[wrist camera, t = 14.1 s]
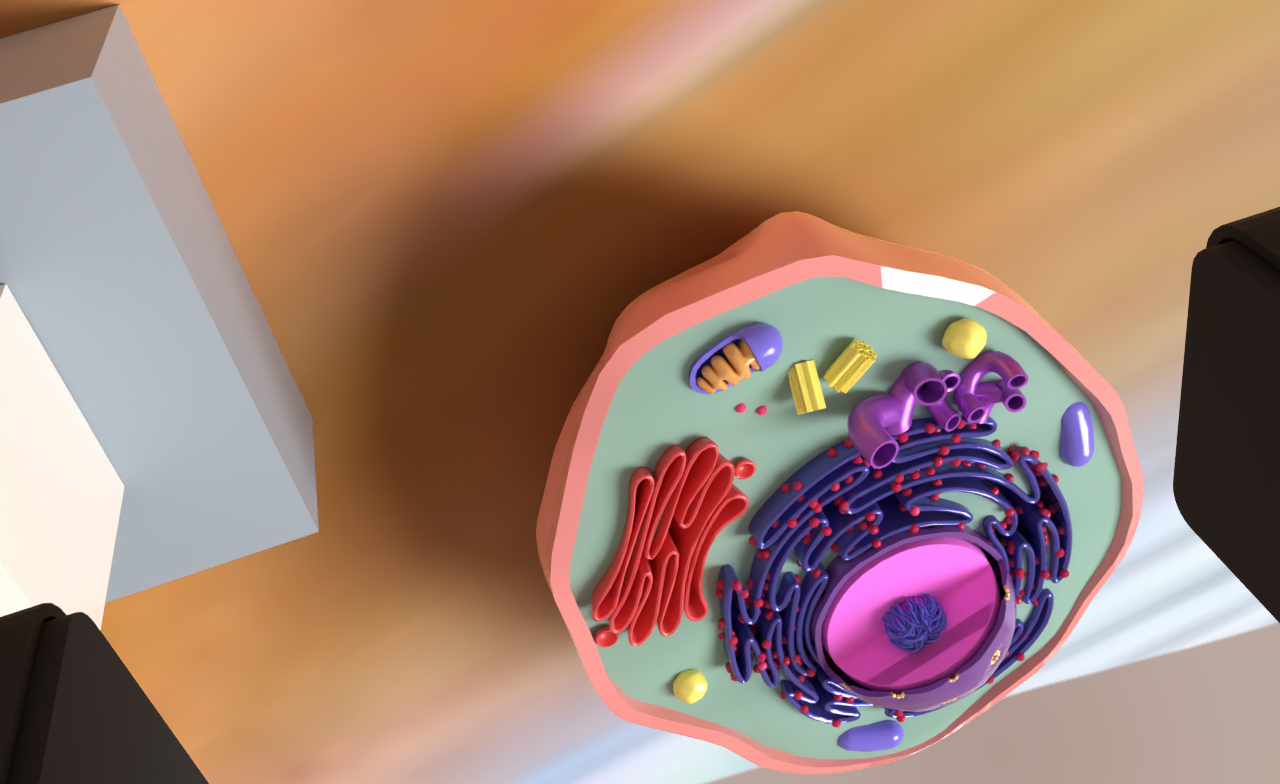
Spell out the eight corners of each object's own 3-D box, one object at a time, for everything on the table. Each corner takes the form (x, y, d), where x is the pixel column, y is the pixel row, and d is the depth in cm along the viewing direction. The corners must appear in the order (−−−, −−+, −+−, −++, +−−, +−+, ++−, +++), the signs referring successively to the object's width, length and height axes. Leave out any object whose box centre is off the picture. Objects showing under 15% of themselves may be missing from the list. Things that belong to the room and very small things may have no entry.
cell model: (850, 7, 34) (1060, 151, 25) (1068, 444, 46) (1267, 654, 37) (373, 340, 36) (406, 589, 27) (696, 681, 48) (797, 938, 38)
